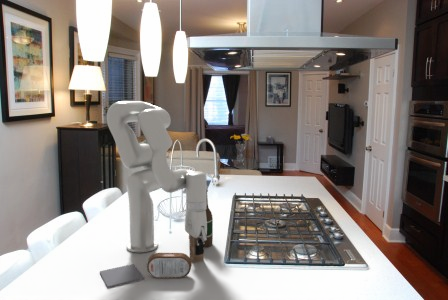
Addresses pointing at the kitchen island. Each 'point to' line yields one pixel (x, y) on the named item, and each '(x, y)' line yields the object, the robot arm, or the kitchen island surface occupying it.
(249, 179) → the kitchen island surface
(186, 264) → the tin
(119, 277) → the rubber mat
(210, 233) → the beer bottle
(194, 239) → the walnut block
